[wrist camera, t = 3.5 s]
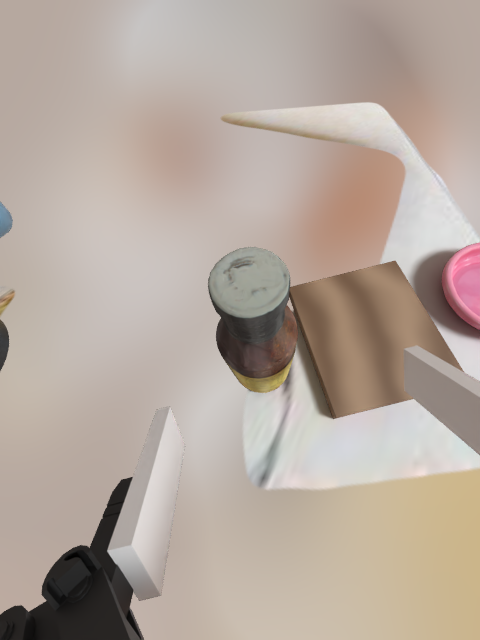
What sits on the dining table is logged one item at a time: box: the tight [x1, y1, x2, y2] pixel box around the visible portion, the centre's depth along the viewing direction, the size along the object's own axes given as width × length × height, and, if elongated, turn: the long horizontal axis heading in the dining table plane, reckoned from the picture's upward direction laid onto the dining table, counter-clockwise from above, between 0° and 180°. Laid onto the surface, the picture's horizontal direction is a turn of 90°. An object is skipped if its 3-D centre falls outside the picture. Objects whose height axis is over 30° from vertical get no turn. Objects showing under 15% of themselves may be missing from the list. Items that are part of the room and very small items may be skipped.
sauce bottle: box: [208, 247, 298, 393], centre depth 22 cm, size 7×6×20 cm
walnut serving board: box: [289, 261, 464, 419], centre depth 30 cm, size 14×16×2 cm
